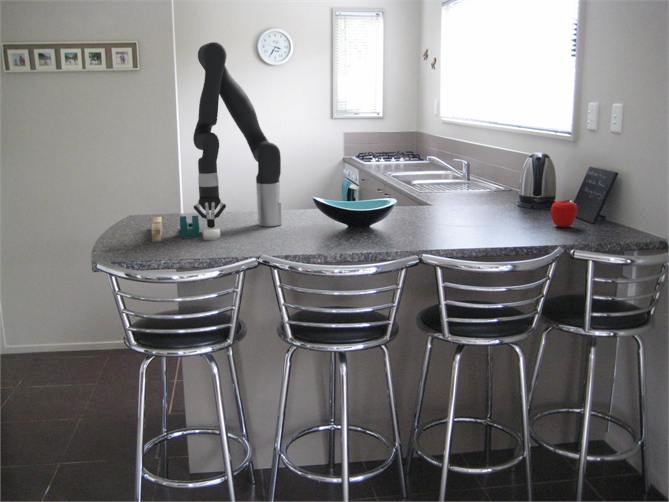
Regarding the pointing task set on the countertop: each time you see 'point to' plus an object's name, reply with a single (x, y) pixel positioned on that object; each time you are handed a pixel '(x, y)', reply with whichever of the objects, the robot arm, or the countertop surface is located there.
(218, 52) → the robot arm
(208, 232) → the rounded smooth part
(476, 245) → the countertop surface
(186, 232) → the bracket
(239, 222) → the countertop surface
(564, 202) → the apple
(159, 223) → the batten
